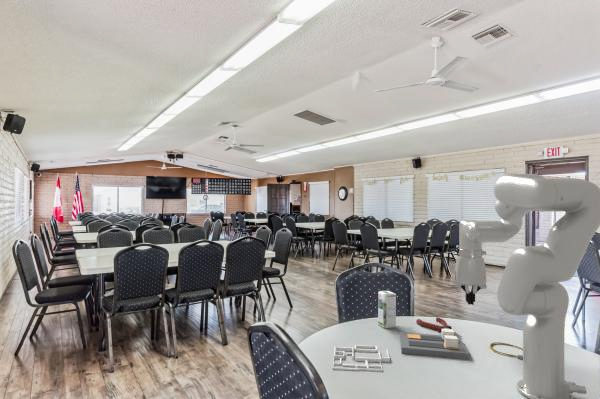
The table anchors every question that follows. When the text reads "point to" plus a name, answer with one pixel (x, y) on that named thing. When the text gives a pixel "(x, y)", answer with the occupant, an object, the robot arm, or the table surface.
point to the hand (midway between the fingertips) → (470, 303)
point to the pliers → (436, 327)
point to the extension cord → (505, 353)
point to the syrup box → (386, 309)
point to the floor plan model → (359, 358)
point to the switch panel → (431, 346)
